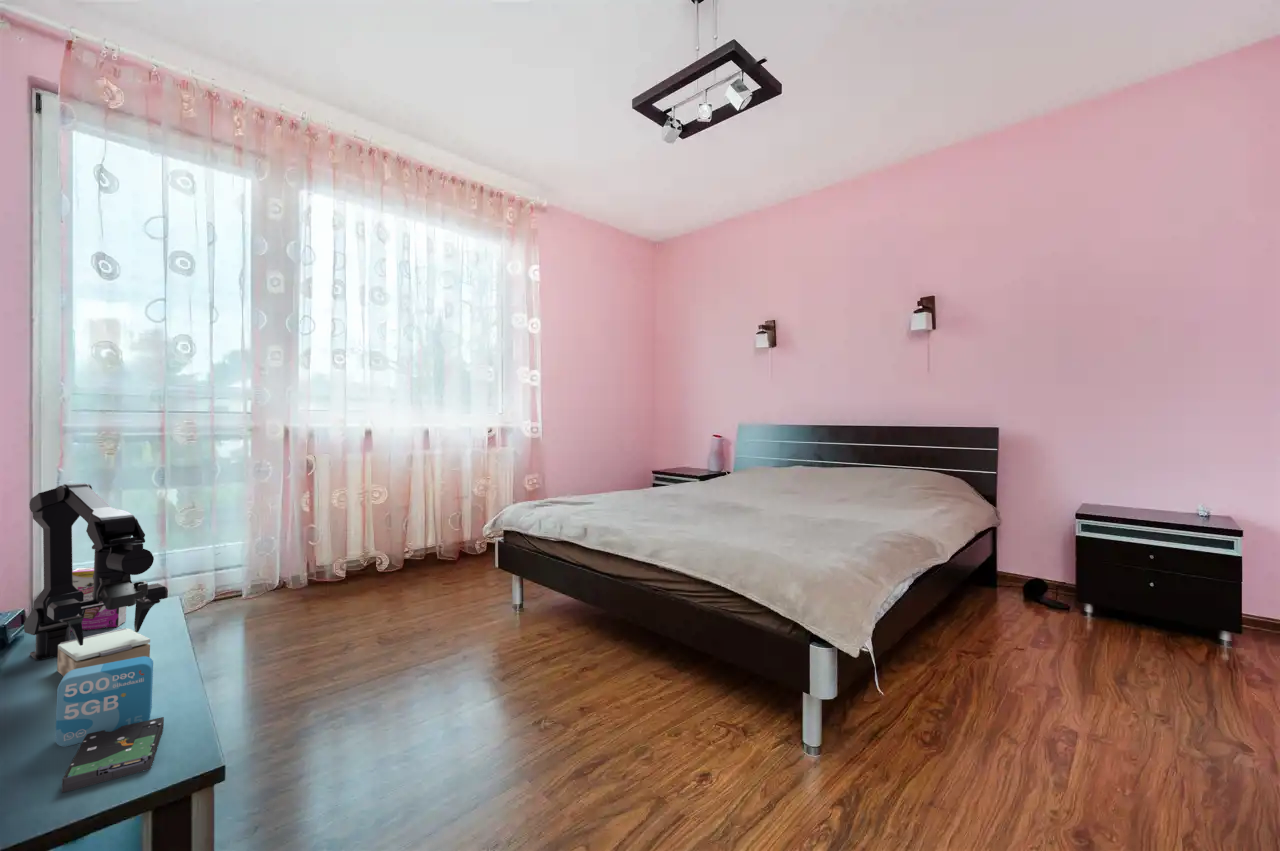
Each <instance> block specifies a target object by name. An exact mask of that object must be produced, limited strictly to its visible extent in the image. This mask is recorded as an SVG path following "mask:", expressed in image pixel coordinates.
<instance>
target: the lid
mask: <svg viewBox="0 0 1280 851" xmlns="http://www.w3.org/2000/svg"><path fill="white" fill-rule="evenodd" d="M146 643H148V644H150V643H151V638H150V637H147V636H145V635H143V634H141V633H139V632H135V630H134V629H132V628H126V627H123V628H120V629H116V630H115V629H114V630H111V631H106V632H103V633H97V634H93V635H88V636H85V637H84V636H83V645H81V646H80V645H79V644H78V642H77V640H76V638H75V639H70V641H66V642H61V643H60V644H59V645H58V649H60V650H61V651H63V652H64V653H66V654H67V655H68V656H70V657H71V658H73V659H74V660H76V661H79V660H83V659H87V658H91V657H95V656H99V655H100V656H105V655H109V654H113V653H117V652H121V651H124V650H128V649H132V647H134V646H138V645H142V644H146Z"/></svg>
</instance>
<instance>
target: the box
mask: <svg viewBox="0 0 1280 851" xmlns="http://www.w3.org/2000/svg"><path fill="white" fill-rule="evenodd" d="M142 656H146V657H150V656H151V644H150V643H146V644H142V645H138V646H134V647H132V649H128V650H124V651H121V652H117V653H113V654H109V655H105V656H100V655H99V656H95V657H91V658H87V659H83V660H79V661H76V660H74V659H73V658H71V657H70V656H68V655H67V654H66V653H64V652H63V651H61V650H60V649H58V656H57V664H56V671H57V672H58V673H59V674H61V675H62V677H64V676H65V674H66V673H68V672H69V671H71V670H74V669H78V668H83V667H89V666H94V665H99V664H105V663H110V662H115V661H121V660H126V659H131V658H137V657H142ZM150 658H151V657H150Z"/></svg>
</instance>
